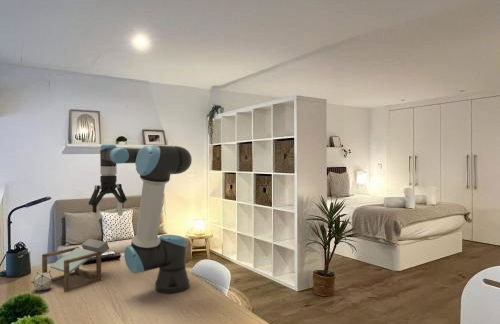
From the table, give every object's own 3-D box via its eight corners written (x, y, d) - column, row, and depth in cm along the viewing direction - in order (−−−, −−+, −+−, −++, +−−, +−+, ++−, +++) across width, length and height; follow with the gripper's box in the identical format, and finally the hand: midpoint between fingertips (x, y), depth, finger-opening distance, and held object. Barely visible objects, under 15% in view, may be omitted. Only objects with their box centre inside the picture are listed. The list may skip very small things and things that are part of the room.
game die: (45, 264, 146) (58, 283, 146) (48, 266, 154) (60, 284, 153) (24, 278, 142) (37, 297, 141) (28, 279, 149) (40, 297, 148)
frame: (101, 280, 160) (101, 252, 160) (65, 292, 145) (65, 261, 145) (77, 273, 170) (77, 246, 170) (42, 283, 155) (42, 254, 155)
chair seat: (110, 249, 166) (108, 242, 165) (72, 278, 149) (68, 270, 148) (91, 244, 174) (88, 238, 173) (52, 271, 158) (49, 265, 156)
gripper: (124, 174, 181) (124, 213, 181) (80, 175, 160) (80, 220, 160) (133, 174, 177) (133, 214, 177) (90, 176, 156) (90, 221, 156)
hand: (108, 217), depth 168 cm, fingers open, 13 cm apart
